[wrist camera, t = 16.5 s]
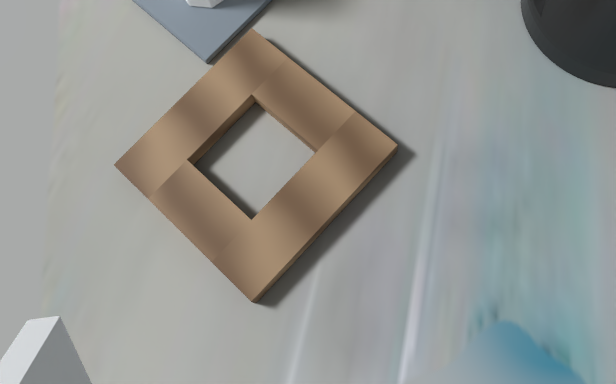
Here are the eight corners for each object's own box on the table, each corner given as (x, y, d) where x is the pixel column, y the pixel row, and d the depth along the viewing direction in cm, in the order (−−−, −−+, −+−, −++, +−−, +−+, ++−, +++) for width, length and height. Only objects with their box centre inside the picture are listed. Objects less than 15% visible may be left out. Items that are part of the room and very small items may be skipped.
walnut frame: (255, 37, 50) (251, 28, 48) (397, 151, 45) (397, 144, 44) (121, 170, 48) (113, 164, 46) (255, 303, 43) (251, 301, 42)
